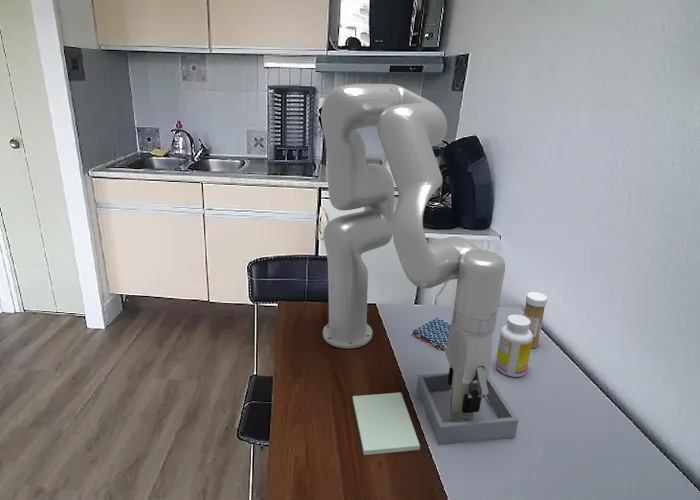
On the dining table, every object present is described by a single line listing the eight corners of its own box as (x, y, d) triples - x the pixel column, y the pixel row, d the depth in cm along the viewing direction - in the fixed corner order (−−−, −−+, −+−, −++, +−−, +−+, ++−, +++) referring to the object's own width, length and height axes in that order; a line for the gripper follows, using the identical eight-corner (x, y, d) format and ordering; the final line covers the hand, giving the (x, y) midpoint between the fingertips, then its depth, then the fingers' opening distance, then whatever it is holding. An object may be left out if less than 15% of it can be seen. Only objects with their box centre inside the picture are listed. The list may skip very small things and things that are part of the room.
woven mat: (409, 336, 112) (409, 329, 112) (435, 322, 119) (435, 315, 118) (442, 354, 105) (443, 347, 104) (467, 338, 112) (468, 331, 111)
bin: (416, 390, 92) (417, 375, 91) (482, 385, 94) (484, 369, 93) (438, 444, 79) (440, 427, 77) (515, 437, 81) (518, 420, 79)
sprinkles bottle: (541, 345, 108) (551, 296, 103) (530, 351, 106) (540, 302, 101) (525, 336, 112) (534, 289, 107) (514, 342, 109) (522, 294, 104)
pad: (352, 400, 89) (352, 396, 89) (400, 396, 91) (400, 392, 90) (363, 455, 76) (363, 450, 76) (419, 449, 78) (419, 445, 77)
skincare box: (472, 423, 83) (481, 370, 79) (449, 419, 84) (456, 367, 80) (471, 400, 89) (479, 350, 85) (449, 397, 90) (456, 347, 85)
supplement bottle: (527, 364, 101) (536, 316, 96) (525, 381, 95) (534, 330, 91) (497, 357, 104) (505, 309, 99) (493, 373, 98) (501, 323, 93)
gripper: (438, 296, 86) (430, 370, 93) (473, 347, 70) (460, 432, 77) (475, 294, 87) (464, 367, 94) (517, 345, 71) (500, 429, 78)
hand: (462, 396), depth 85 cm, fingers closed on skincare box, 7 cm apart
